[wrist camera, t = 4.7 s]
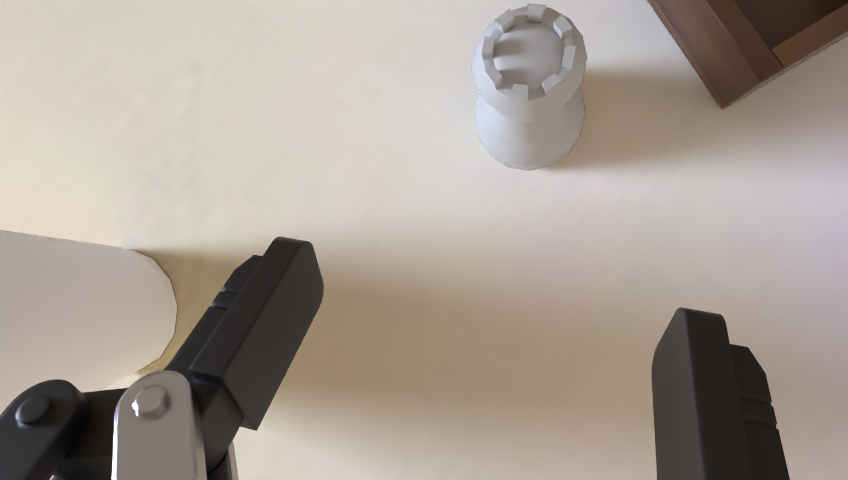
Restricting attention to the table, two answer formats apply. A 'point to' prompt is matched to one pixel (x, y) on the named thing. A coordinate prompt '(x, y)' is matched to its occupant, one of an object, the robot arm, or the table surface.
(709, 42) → the compartment tray
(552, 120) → the rook chess piece
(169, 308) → the foam cup
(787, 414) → the table surface
